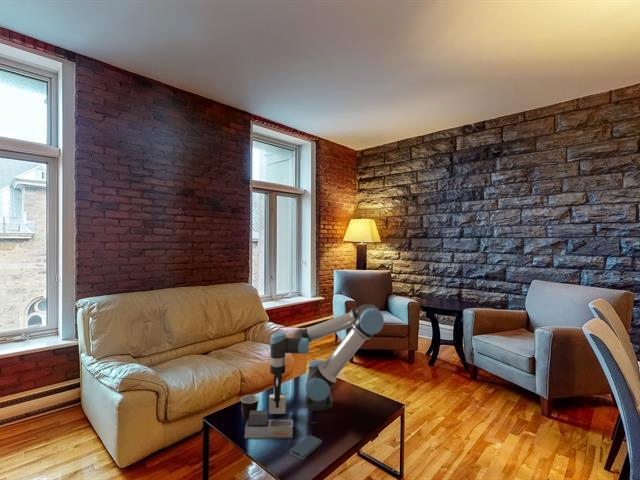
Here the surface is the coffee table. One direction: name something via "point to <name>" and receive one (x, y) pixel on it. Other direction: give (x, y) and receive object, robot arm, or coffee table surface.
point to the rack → (267, 426)
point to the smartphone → (305, 447)
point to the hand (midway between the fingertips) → (277, 410)
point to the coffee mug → (248, 405)
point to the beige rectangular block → (272, 403)
